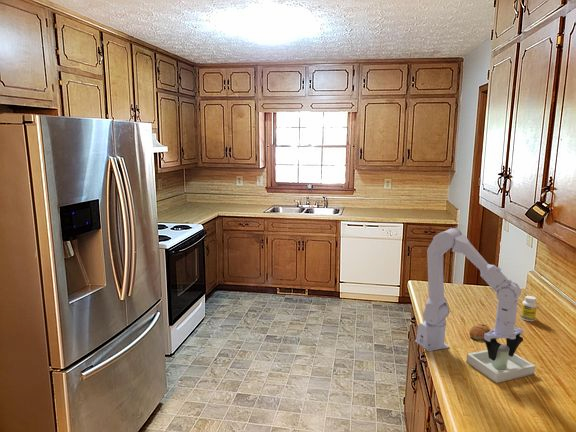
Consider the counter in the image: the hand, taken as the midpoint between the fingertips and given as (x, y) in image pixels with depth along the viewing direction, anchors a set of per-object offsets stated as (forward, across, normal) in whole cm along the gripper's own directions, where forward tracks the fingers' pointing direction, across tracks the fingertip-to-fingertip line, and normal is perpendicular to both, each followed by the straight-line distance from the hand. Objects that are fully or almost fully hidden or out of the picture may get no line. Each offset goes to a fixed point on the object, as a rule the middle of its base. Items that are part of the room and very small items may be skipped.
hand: (500, 357), depth 139 cm
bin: (+4, 0, 0) cm, 4 cm away
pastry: (+4, +11, +20) cm, 24 cm away
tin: (+3, 0, 0) cm, 3 cm away
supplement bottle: (+4, +42, +26) cm, 50 cm away
